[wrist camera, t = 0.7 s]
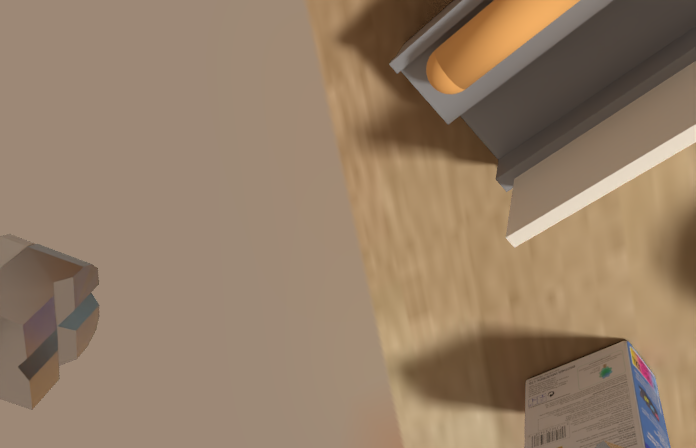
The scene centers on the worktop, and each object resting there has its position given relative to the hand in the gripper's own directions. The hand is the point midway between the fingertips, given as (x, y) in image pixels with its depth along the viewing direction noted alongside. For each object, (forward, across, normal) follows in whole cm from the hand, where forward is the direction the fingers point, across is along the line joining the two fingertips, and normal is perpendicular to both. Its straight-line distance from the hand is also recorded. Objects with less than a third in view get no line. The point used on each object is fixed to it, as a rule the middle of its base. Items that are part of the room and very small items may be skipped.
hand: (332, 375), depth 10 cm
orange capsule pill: (+31, -2, +2) cm, 31 cm away
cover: (+29, -11, +3) cm, 31 cm away
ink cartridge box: (+37, -19, +30) cm, 51 cm away
